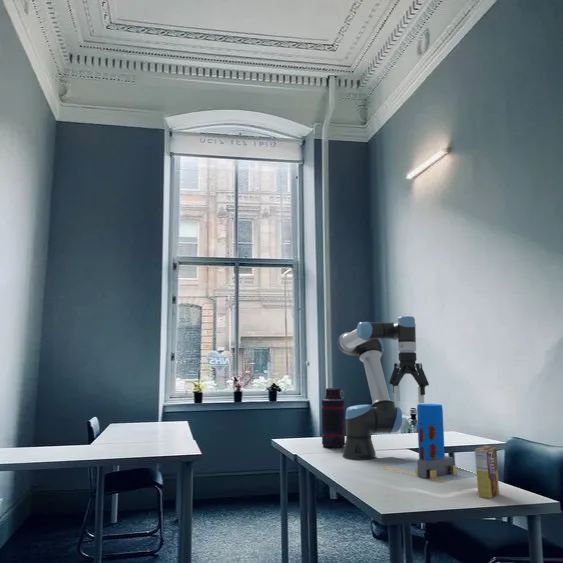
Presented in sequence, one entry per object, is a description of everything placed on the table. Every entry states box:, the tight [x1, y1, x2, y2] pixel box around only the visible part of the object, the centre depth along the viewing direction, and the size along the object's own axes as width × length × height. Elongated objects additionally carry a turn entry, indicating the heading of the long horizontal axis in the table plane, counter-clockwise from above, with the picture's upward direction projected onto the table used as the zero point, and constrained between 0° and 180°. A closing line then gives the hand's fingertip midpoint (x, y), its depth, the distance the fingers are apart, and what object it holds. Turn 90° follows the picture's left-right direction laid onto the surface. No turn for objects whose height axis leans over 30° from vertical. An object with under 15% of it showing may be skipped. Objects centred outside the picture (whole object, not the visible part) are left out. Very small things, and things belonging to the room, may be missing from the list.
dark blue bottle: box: [321, 387, 346, 449], centre depth 274 cm, size 14×12×30 cm
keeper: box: [415, 465, 459, 480], centre depth 198 cm, size 8×14×3 cm, turn 124°
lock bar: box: [416, 455, 455, 480], centre depth 198 cm, size 16×4×6 cm, turn 124°
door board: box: [378, 461, 477, 483], centre depth 205 cm, size 32×22×1 cm
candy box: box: [474, 445, 500, 499], centre depth 173 cm, size 9×4×15 cm, turn 140°
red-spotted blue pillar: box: [416, 403, 446, 460], centre depth 228 cm, size 11×11×25 cm
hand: (409, 402), depth 223 cm, fingers open, 13 cm apart
